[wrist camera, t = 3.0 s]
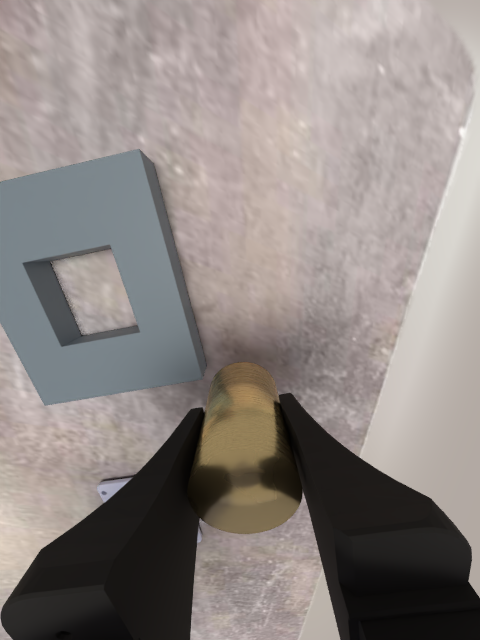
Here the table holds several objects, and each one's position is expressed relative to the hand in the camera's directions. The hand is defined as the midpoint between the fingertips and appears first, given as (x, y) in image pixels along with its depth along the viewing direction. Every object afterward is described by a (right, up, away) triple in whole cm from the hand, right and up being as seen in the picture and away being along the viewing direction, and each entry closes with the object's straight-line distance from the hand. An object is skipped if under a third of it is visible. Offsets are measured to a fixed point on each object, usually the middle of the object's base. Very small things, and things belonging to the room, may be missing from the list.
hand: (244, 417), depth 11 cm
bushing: (0, +1, +2) cm, 2 cm away
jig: (-10, +7, +4) cm, 13 cm away
